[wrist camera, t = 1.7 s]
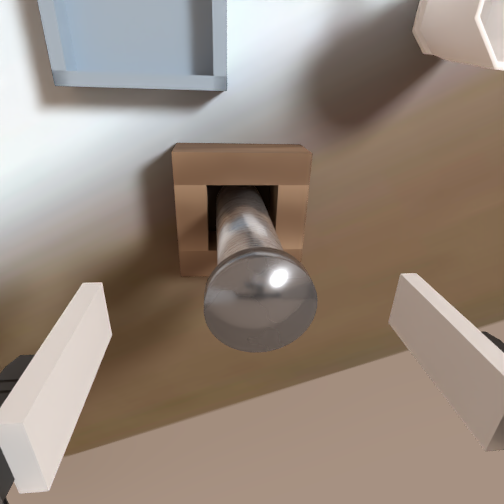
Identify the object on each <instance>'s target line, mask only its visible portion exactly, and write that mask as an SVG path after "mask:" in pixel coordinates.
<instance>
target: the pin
mask: <svg viewBox="0 0 504 504" xmlns="http://www.w3.org/2000/svg"><path fill="white" fill-rule="evenodd" d="M216 230H217V266H216V267H215V269H214V270H213V271H212V273H211V274H210V276H209V278H208V280H207V283H206V287H205V294H204V316H205V320H206V323H207V325H208V328H209V329H210V331H211V332H212V334H213V335H214V336H215V337H216V338H217V339H218V340H220V341H221V342H222V343H224V344H225V345H227V346H229V347H231V348H234V349H237V350H240V351H245V352H267V351H271V350H275V349H278V348H281V347H283V346H286V345H288V344H290V343H291V342H293V341H294V340H296V339H297V338H298V337H300V336H301V335H302V334H303V333H304V332H305V331H306V330H307V328H308V327H309V325H310V324H311V322H312V320H313V319H314V316H315V313H316V309H317V293H316V290H315V287H314V285H313V282H312V280H311V278H310V276H309V274H308V272H307V270H306V269H305V267H304V266H303V265H302V264H301V262H300V261H299V260H297V259H296V258H295V257H294V256H292V255H290V254H289V253H287V252H284V250H283V248H282V245H281V243H280V241H279V238H278V236H277V233H276V231H275V229H274V226H273V224H272V222H271V219H270V217H269V214H268V212H267V210H266V207H265V205H264V202H263V200H262V198H261V195H260V193H259V191H258V190H257V188H256V187H255V186H254V185H224V186H223V187H222V188H221V189H220V191H219V193H218V195H217V198H216Z"/></svg>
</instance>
